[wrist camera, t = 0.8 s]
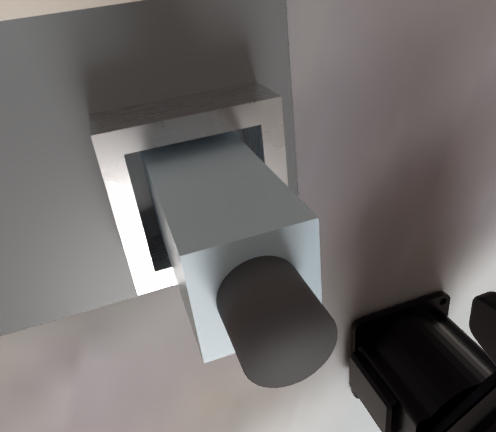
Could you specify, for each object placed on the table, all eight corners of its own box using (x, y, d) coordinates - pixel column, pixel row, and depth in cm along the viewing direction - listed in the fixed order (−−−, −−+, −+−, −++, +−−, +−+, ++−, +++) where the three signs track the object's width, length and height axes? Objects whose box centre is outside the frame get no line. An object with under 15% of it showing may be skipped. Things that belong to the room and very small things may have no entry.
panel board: (237, -489, 12) (252, -534, 11) (291, 236, 23) (301, 248, 22) (-478, -562, 8) (-553, -633, 7) (-12, 322, 19) (-17, 341, 18)
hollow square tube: (256, 81, 17) (281, 96, 15) (270, 221, 20) (292, 250, 18) (88, 114, 16) (90, 135, 14) (130, 259, 19) (137, 295, 17)
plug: (225, 124, 18) (362, 262, 9) (236, 201, 19) (360, 376, 11) (137, 143, 17) (200, 312, 8) (157, 222, 19) (225, 427, 10)
